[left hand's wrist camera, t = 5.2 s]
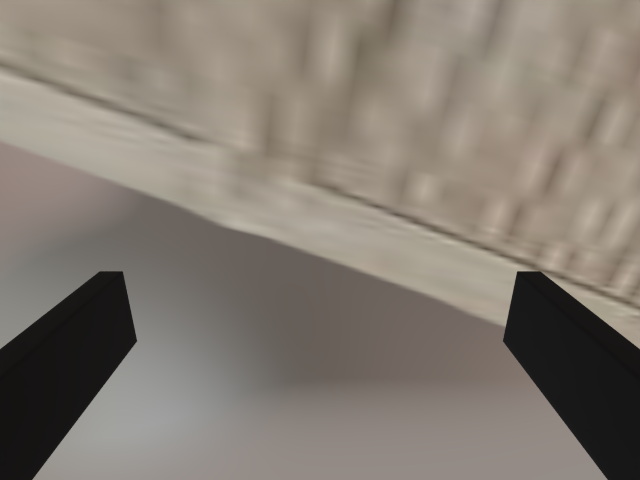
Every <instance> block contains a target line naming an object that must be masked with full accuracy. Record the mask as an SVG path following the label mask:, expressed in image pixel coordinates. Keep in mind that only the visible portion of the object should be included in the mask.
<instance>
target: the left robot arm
mask: <svg viewBox="0 0 640 480" xmlns="http://www.w3.org/2000/svg"><path fill="white" fill-rule="evenodd" d="M136 342H137V339H136V334H135V329H134V324H133V319H132V314H131V310H130V304H129V300H128V295H127V290H126V285H125V280H124V275H123V272H122V271H121V272H119V271H117V272H116V271H109V272H108V271H105V272H104V271H102V272H98V273H97V274H96V275H95V276H93V277H92V278H91V279H89V280H88V281H87V282H86V283H84V284H83V285H82V286H81V287H79V288H78V289H77V290H75V291H74V292H73V293H72V294H70V295H69V296H68V297H66V298H65V299H64V300H63V301H61V302H60V303H59V304H57V305H56V306H55V307H54V308H52V309H51V310H50V311H49V312H47V313H46V314H45V315H43V316H42V317H41V318H40V319H38V320H37V321H36V322H34V323H33V324H32V325H31V326H29V327H28V328H27V329H26V330H24V331H23V332H22V333H20V334H19V335H18V336H17V337H15V338H14V339H13V340H12V341H10V342H9V343H8V344H6V345H5V346H4V347H2V348H1V349H0V480H32V479H33V478H34V477H35V475H36V474H37V473H38V471H39V470H40V469H41V467H42V466H43V465H44V463H45V462H46V461H47V459H48V458H49V457H50V456H51V454H52V453H53V451H54V450H55V449H56V448H57V446H58V445H59V444H60V442H61V441H62V440H63V438H64V437H65V436H66V434H67V433H68V432H69V430H70V429H71V428H72V426H73V425H74V424H75V422H76V421H77V420H78V418H79V417H80V416H81V415H82V413H83V412H84V410H85V409H86V408H87V407H88V405H89V404H90V403H91V401H92V400H93V399H94V397H95V396H96V395H97V393H98V392H99V391H100V389H101V388H102V387H103V385H104V384H105V383H106V381H107V380H108V379H109V378H110V376H111V375H112V373H113V372H114V371H115V370H116V368H117V367H118V365H119V364H120V363H121V362H122V360H123V359H124V358H125V356H126V355H127V354H128V352H129V351H130V350H131V348H132V347H133V346H134V344H135V343H136ZM503 342H504V343H505V344H506V346H507V347H508V348H509V350H510V351H511V352H512V354H513V355H514V356H515V358H516V359H517V360H518V362H519V363H520V364H521V366H522V367H523V368H524V370H525V371H526V372H527V373H528V375H529V376H530V378H531V379H532V380H533V382H534V383H535V384H536V385H537V387H538V388H539V389H540V391H541V392H542V393H543V395H544V396H545V397H546V399H547V400H548V401H549V403H550V404H551V405H552V407H553V408H554V409H555V411H556V412H557V413H558V415H559V416H560V417H561V419H562V420H563V421H564V422H565V424H566V425H567V426H568V428H569V429H570V430H571V432H572V433H573V434H574V436H575V437H576V438H577V440H578V441H579V442H580V443H581V445H582V446H583V448H584V449H585V450H586V452H587V453H588V454H589V455H590V457H591V458H592V459H593V461H594V462H595V463H596V465H597V466H598V467H599V469H600V470H601V471H602V473H603V474H604V475H605V477H606V478H607V479H608V480H640V349H639V348H638V347H636V346H635V345H634V344H632V343H631V342H630V341H629V340H627V339H626V338H625V337H623V336H622V335H621V334H620V333H618V332H617V331H616V330H615V329H613V328H612V327H611V326H609V325H608V324H607V323H606V322H604V321H603V320H602V319H600V318H599V317H598V316H597V315H595V314H594V313H593V312H591V311H590V310H589V309H588V308H586V307H585V306H584V305H583V304H581V303H580V302H579V301H577V300H576V299H575V298H574V297H572V296H571V295H570V294H568V293H567V292H566V291H565V290H563V289H562V288H561V287H559V286H558V285H557V284H556V283H554V282H553V281H552V280H551V279H549V278H548V277H547V276H545V275H544V274H543V273H542V272H540V271H517V275H516V280H515V285H514V290H513V295H512V300H511V304H510V309H509V314H508V319H507V324H506V329H505V334H504V339H503Z"/></svg>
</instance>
